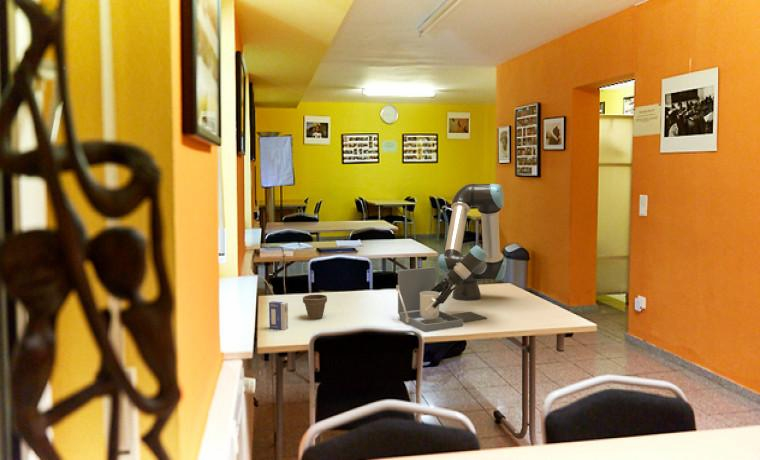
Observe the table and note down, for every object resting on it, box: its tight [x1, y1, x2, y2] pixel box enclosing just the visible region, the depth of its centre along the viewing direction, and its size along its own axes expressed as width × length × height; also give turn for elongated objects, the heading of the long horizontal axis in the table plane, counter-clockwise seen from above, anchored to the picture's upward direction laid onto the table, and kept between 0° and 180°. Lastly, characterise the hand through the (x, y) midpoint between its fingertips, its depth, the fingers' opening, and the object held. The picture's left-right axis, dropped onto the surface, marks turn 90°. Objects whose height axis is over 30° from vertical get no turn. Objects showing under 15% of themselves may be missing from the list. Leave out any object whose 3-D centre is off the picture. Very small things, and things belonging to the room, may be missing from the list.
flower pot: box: [302, 294, 328, 320], centre depth 277 cm, size 12×11×10 cm
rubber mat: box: [450, 311, 488, 324], centre depth 277 cm, size 13×15×1 cm
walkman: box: [268, 300, 289, 331], centre depth 259 cm, size 8×3×12 cm, turn 70°
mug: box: [420, 291, 440, 320], centre depth 267 cm, size 12×9×11 cm
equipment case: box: [395, 266, 464, 333], centre depth 267 cm, size 24×21×23 cm
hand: (425, 308), depth 267 cm, fingers closed on mug, 12 cm apart
